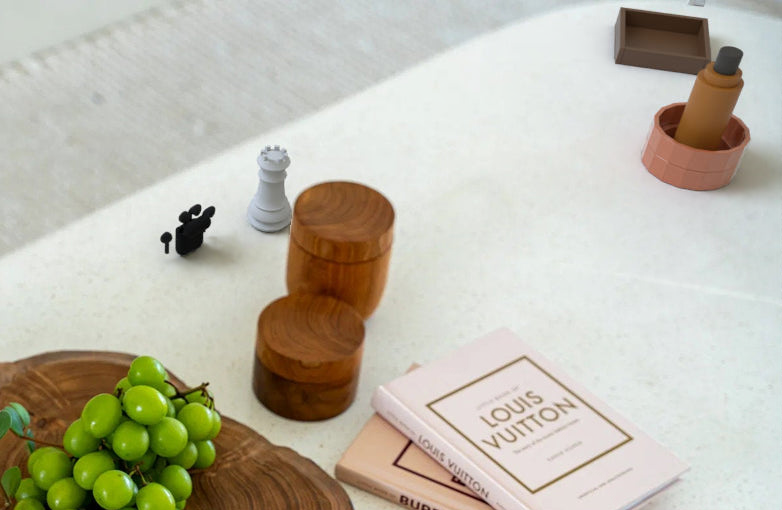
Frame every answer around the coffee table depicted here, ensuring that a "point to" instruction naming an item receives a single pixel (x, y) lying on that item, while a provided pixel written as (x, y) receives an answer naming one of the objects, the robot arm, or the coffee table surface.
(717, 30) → the coffee table surface
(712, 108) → the bottle
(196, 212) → the wireless earbuds
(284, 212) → the rook chess piece
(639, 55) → the tray
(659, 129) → the bowl
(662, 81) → the coffee table surface
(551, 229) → the coffee table surface
